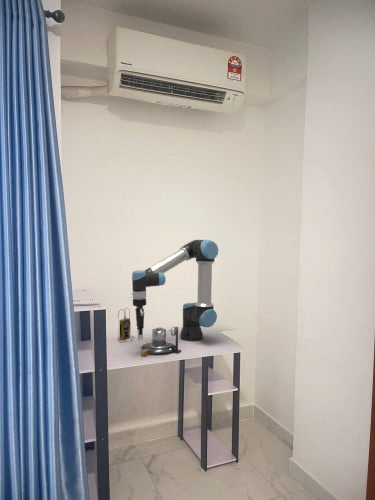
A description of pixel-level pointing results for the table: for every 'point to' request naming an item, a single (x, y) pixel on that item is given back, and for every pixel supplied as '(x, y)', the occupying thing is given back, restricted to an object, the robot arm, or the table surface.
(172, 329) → the indicator
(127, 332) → the multimeter
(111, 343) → the table surface
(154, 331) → the cover
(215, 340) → the table surface
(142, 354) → the turntable
